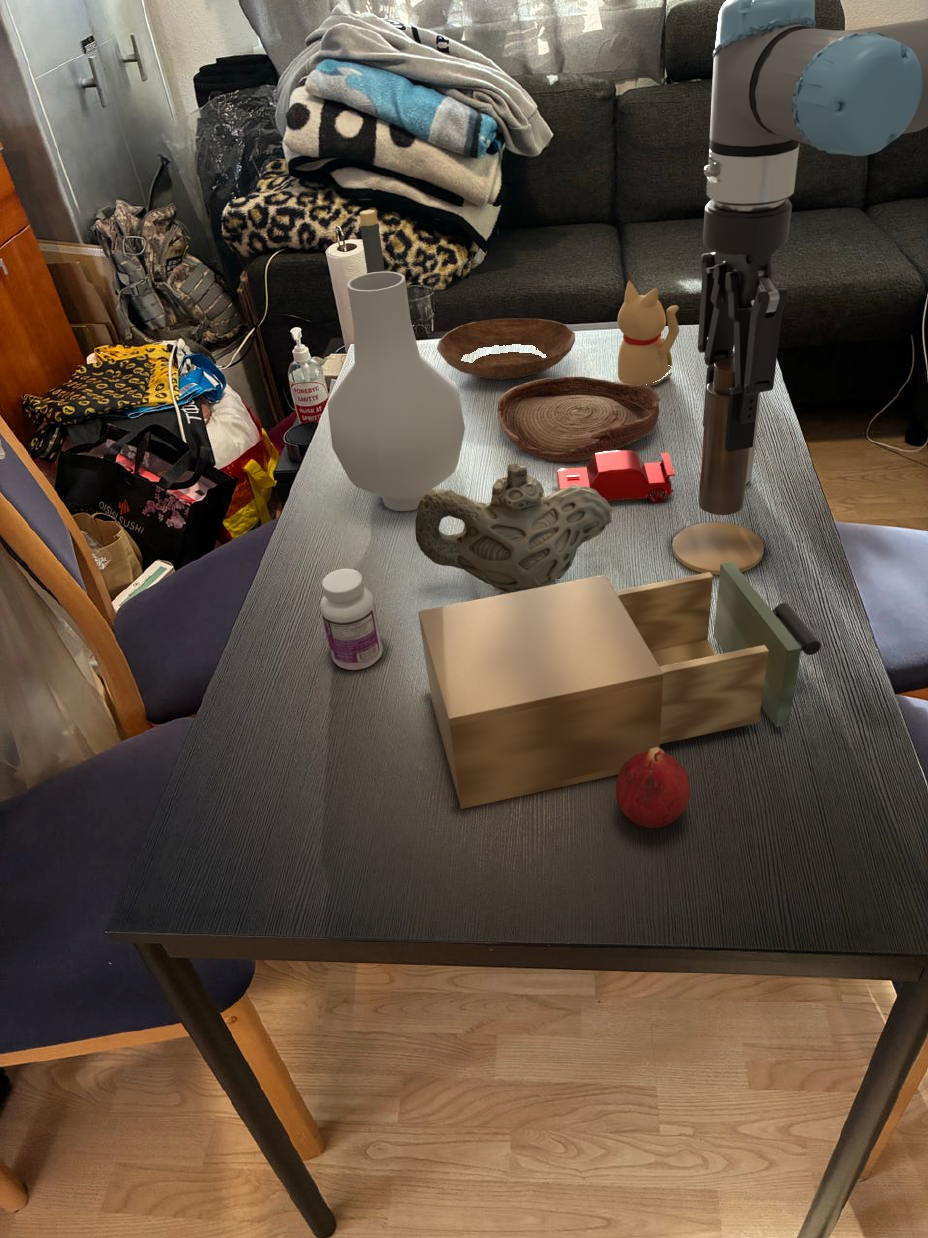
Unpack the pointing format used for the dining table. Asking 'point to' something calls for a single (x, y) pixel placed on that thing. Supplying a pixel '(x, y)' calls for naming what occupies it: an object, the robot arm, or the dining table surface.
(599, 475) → the toy car
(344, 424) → the vase
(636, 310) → the figurine
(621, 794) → the red pomegranate
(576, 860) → the dining table surface
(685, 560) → the coaster
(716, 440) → the pepper mill
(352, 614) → the pill bottle
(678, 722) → the drawer
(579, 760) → the cabinet
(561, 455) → the basket
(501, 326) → the bowl
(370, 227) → the wine bottle
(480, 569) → the teapot
